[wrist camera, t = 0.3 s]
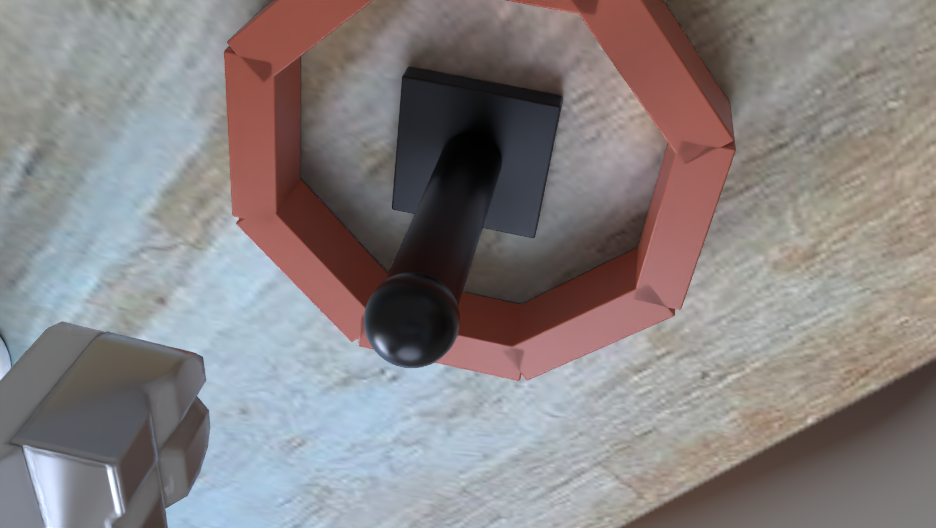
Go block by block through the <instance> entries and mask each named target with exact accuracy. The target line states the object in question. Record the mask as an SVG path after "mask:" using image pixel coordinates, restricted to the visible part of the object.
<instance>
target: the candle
mask: <svg viewBox="0 0 936 528" xmlns="http://www.w3.org/2000/svg"><path fill="white" fill-rule="evenodd" d="M10 369H11V362H10V357H9V354H8V351H7V348H6V346H5V344H4V342H3V341H2V339H1V337H0V380H1V379H2V378H3V377H4V376H5V374H6V373H7V372H8V371H9V370H10Z"/></svg>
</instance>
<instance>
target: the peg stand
mask: <svg viewBox="0 0 936 528" xmlns="http://www.w3.org/2000/svg"><path fill="white" fill-rule="evenodd" d="M562 102H563V96H560V95H555V94H550V93H544V92H539V91H534V90H529V89H523V88H518V87H513V86H508V85H503V84H497V83H492V82H487V81H482V80H476V79H471V78H466V77H461V76H456V75H450V74H445V73H440V72H435V71H429V70H424V69H419V68H414V67H408V68H407V70H406V72H405V73H404V75H403V77H402V88H401V100H400V113H399V125H398V138H397V151H396V163H395V176H394V188H393V201H392V209H393V210H398V211H403V212H408V213H413V214H414V216H413V219H412V221H411V223H410V226H409V228H408V230H407V233H406V235H405V237H404V239H403V242H402V244H401V246H400V249H399V251H398V253H397V256H396V258H395V260H394V262H393V265H392V267H391V269H390V272H389V274H388V276H387V278H386V280H385V281H383V282H382V283H381V284H380V285H379V286H378V287H377V288H376V289H375V290H374V291H373V293H372V294H371V296H370V298H369V300H368V302H367V305H366V308H365V314H364V327H365V332H366V335H367V338H368V340H369V342H370V344H371V346H372V347H373V349H374V350H375V351H376V352H377V353H378V354H379V355H380V356H381V357H382V358H383V359H385V360H386V361H388V362H389V363H391V364H394V365H396V366H400V367H404V368H419V367H424V366H427V365H430V364H432V363H434V362H436V361H438V360H439V359H441V358H442V357H443V356H444V355H445V354H446V353H447V352H448V351H449V350H450V349H451V347H452V346H453V344H454V343H455V340H456V338H457V336H458V332H459V328H460V312H459V307H458V306H459V303H460V299H461V296H462V293H463V290H464V287H465V283H466V280H467V277H468V274H469V271H470V267H471V264H472V261H473V258H474V255H475V251H476V248H477V245H478V242H479V239H480V235H481V232H482V229H483V228H486V229H491V230H496V231H501V232H505V233H510V234H515V235H520V236H525V237H530V238H534V237H535V235H536V230H537V226H538V221H539V216H540V211H541V206H542V201H543V196H544V191H545V186H546V181H547V176H548V171H549V166H550V161H551V156H552V151H553V146H554V141H555V136H556V131H557V126H558V121H559V116H560V112H561V107H562Z"/></svg>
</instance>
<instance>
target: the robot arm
mask: <svg viewBox="0 0 936 528" xmlns="http://www.w3.org/2000/svg"><path fill="white" fill-rule="evenodd" d="M205 381H206V375H205V368H204V361H203V357H202V356H200V355H198V354H196V353H193V352H189V351H185V350H181V349H177V348H173V347H169V346H165V345H161V344H156V343H152V342H148V341H144V340H140V339H136V338H132V337H128V336H124V335H119V334H115V333H111V332H104V331H100V330H96V329H91V328H87V327H83V326H79V325H75V324H71V323H67V322H60V323H58V324H55V325H53V326H51V327H49V328H47V329H46V330H45V331H44V332H43V333H42V334H41V335H40V337H39V338H38V339H37V340H36V341H35V342H34V343H33V344H32V346H31V347H30V348H29V349H28V350H27V351H26V352H25V353H24V354H23V356H22V357H21V358H20V359H19V360H18V361H17V362H16V363H15V364H14V366H13V367H12V368H11V369H10V370H9V371H8V372H7V373H6V374H5V376H4V377H3V378H2V379H1V380H0V528H168V526H167V519H166V511H165V508H167V507H169V506H171V505H172V504H174V503H176V502H177V501H179V500H181V499H183V498H184V497H186V496H188V494H189V492H190V490H191V488H192V486H193V484H194V482H195V480H196V479H197V477H198V475H199V473H200V470H201V467H202V463H203V460H204V457H205V454H206V451H207V448H208V441H209V432H210V418H209V410H208V409H207V407H206V406H205V405H204V404H203V403H202V401H201V400H200V399H199V398H198V397H197V395H198V393H199V391H200V390H201V388H202V386H203V385H204V383H205Z"/></svg>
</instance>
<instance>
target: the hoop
mask: <svg viewBox="0 0 936 528" xmlns="http://www.w3.org/2000/svg"><path fill="white" fill-rule="evenodd" d="M371 1H373V0H273V1H271V2H270V3H269V4H268V5H267V6H265V7H264V8H263V9H262V10H261V11H259V12H258V13H257V14H256V15H255V16H254V17H253V18H252V19H251V20H250V21H249V22H247V23H246V24H245V25H244V26H243V27H242V28H241V29H240V30H239V31H238V32H237V33H236V34H235V35H234V36H233V37H232V38H230V39H229V40H228V41H227V44H228V45H229V47H228V48H227V49H226V50H225V51H224V58H225V78H226V97H227V117H228V137H229V156H230V176H231V196H232V215H233V216H234V217H239V220H238V221H237V223H236V224H237V226H238V227H239V228H240V229H241V230H242V231H243V232H244V233H245V234H246V235H247V236H248V237H249V238H250V239H251V240H252V241H253V242H254V243H255V244H256V245H257V246H258V247H259V248H260V249H261V250H262V251H263V252H264V253H265V254H266V255H267V256H268V257H269V258H270V259H271V260H272V261H273V262H274V263H275V264H276V266H277V267H278V268H279V269H280V270H281V271H282V272H283V273H284V274H285V275H286V276H287V277H288V278H289V279H290V280H291V281H292V282H293V283H294V284H295V285H296V286H297V287H298V288H299V289H300V290H301V291H302V292H303V293H304V294H305V295H306V296H307V297H308V298H309V299H310V300H311V301H312V302H313V303H314V304H315V305H316V306H317V307H318V309H319V310H320V311H321V312H322V313H323V314H324V315H325V316H326V317H327V318H328V319H329V320H330V321H331V322H332V323H333V324H334V325H335V326H336V327H337V328H338V329H339V330H340V331H341V332H342V333H343V334H344V335H345V336H346V337H347V338H348V339H349V340H350V341H351V342H353V341H354V340H356V339H358V338H359V342H358V345H359V346H361V347H365V348H370V349H373V347H372V346H371V344H370V342H369V340H368V338H367V335H366V332H365V327H364V314H365V308H366V305H367V302H368V300H369V298H370V296H371V294H372V293H373V291H374V290H375V289H376V288H377V287H378V286H379V285H380V284H381V283H382V282H383V281H385V280H386V278H387V276H388V274H387V272H386V271H385V270H384V269H383V268H382V267H381V266H380V265H379V264H378V263H377V261H376V260H375V259H374V258H373V257H372V256H371V255H370V254H369V253H368V252H367V251H366V249H365V248H364V247H363V246H362V245H361V244H360V243H359V242H358V241H357V240H356V239H355V237H354V236H353V235H352V234H351V233H350V232H349V231H348V230H347V229H346V228H345V227H344V225H343V224H342V223H341V222H340V221H339V220H338V219H337V218H336V217H335V216H334V215H333V213H332V212H331V211H330V210H329V209H328V208H327V207H326V206H325V205H324V204H323V203H322V201H321V200H320V199H319V198H318V197H317V196H316V195H315V194H314V193H313V192H312V190H311V189H310V188H309V187H308V186H307V185H306V184H305V183H304V182H303V181H302V180H301V178H300V102H301V55H303V54H304V53H305V52H307V51H308V50H309V49H311V48H312V47H313V46H314V45H316V44H317V43H318V42H320V41H321V40H322V39H323V38H325V37H326V36H327V35H329V34H330V33H331V32H332V31H334V30H335V29H336V28H338V27H339V26H340V25H342V24H343V23H344V22H345V21H347V20H348V19H349V18H351V17H352V16H353V15H354V14H356V13H357V12H358V11H360V10H361V9H362V8H363V7H365V6H366V5H367V4H369V3H370V2H371ZM507 1H512V2H518V3H523V4H529V5H534V6H540V7H545V8H550V9H556V10H561V11H567V12H572V13H578V14H579V15H580V16H581V18H582V19H583V21H584V22H585V23H586V25H587V26H588V28H589V29H590V31H591V32H592V34H593V35H594V36H595V38H596V39H597V41H598V42H599V44H600V45H601V47H602V48H603V49H604V51H605V52H606V54H607V55H608V57H609V58H610V60H611V61H612V62H613V64H614V65H615V67H616V68H617V70H618V71H619V72H620V74H621V75H622V77H623V78H624V80H625V81H626V83H627V84H628V85H629V87H630V88H631V90H632V91H633V93H634V94H635V96H636V97H637V98H638V100H639V101H640V103H641V104H642V106H643V107H644V108H645V110H646V111H647V113H648V114H649V116H650V117H651V119H652V120H653V121H654V123H655V124H656V126H657V127H658V129H659V130H660V132H661V133H662V134H663V136H664V137H665V139H666V140H667V142H668V145H667V148H666V152H665V155H664V158H663V162H662V165H661V169H660V172H659V176H658V179H657V183H656V186H655V190H654V193H653V197H652V200H651V203H650V207H649V210H648V214H647V217H646V221H645V224H644V228H643V231H642V235H641V238H640V241H639V245H638V247H637V248H635V249H633V250H631V251H629V252H627V253H625V254H623V255H621V256H619V257H617V258H615V259H613V260H611V261H609V262H607V263H605V264H603V265H601V266H599V267H597V268H595V269H593V270H591V271H589V272H587V273H585V274H582V275H580V276H578V277H576V278H574V279H572V280H570V281H568V282H566V283H564V284H562V285H560V286H558V287H556V288H554V289H552V290H550V291H548V292H546V293H544V294H542V295H540V296H538V297H536V298H534V299H532V300H530V301H528V302H526V303H523V304H516V303H512V302H507V301H502V300H498V299H493V298H488V297H483V296H479V295H474V294H469V293H464V292H463V293H462V296H461V299H460V303H459V306H458V307H459V312H460V328H459V332H458V336H457V338H456V340H455V343H454V344H453V346H452V347H451V349H450V350H449V351H448V352H447V353H446V354H445V355H444V356H443V357H442V358H441V359H439V360H438V361H436V362H434V363H439V364H443V365H448V366H453V367H457V368H462V369H466V370H471V371H476V372H480V373H485V374H489V375H494V376H499V377H503V378H508V379H512V380H517V381H519V380H520V378H521V374H522V375H523V376H524V377H525V379H526V380H529V379H532V378H534V377H536V376H538V375H541V374H543V373H545V372H548V371H550V370H552V369H554V368H557V367H559V366H561V365H564V364H566V363H568V362H570V361H573V360H575V359H577V358H579V357H582V356H584V355H586V354H589V353H591V352H593V351H595V350H598V349H600V348H602V347H605V346H607V345H609V344H611V343H614V342H616V341H618V340H620V339H623V338H625V337H627V336H630V335H632V334H634V333H636V332H639V331H641V330H643V329H646V328H648V327H650V326H652V325H655V324H657V323H659V322H662V321H664V320H666V319H668V318H671V317H673V316H674V315H675V309H678V310H681V308H682V305H683V302H684V299H685V296H686V294H687V291H688V288H689V285H690V282H691V279H692V276H693V273H694V270H695V267H696V264H697V262H698V259H699V256H700V253H701V250H702V247H703V244H704V241H705V238H706V235H707V232H708V230H709V227H710V224H711V221H712V218H713V215H714V212H715V209H716V206H717V203H718V200H719V198H720V195H721V192H722V189H723V186H724V183H725V180H726V177H727V174H728V171H729V168H730V166H731V163H732V160H733V157H734V154H735V151H736V148H735V140H734V132H733V124H732V116H731V109H730V103H729V101H728V100H727V98H726V97H725V95H724V93H723V92H722V90H721V89H720V87H719V86H718V84H717V83H716V81H715V80H714V78H713V76H712V75H711V73H710V72H709V70H708V69H707V67H706V66H705V64H704V63H703V61H702V59H701V58H700V56H699V55H698V53H697V52H696V50H695V49H694V47H693V45H692V44H691V42H690V41H689V39H688V38H687V36H686V35H685V33H684V32H683V30H682V28H681V27H680V25H679V24H678V22H677V21H676V19H675V18H674V16H673V15H672V13H671V11H670V10H669V8H668V7H667V5H666V4H665V2H664V1H663V0H507Z"/></svg>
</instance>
